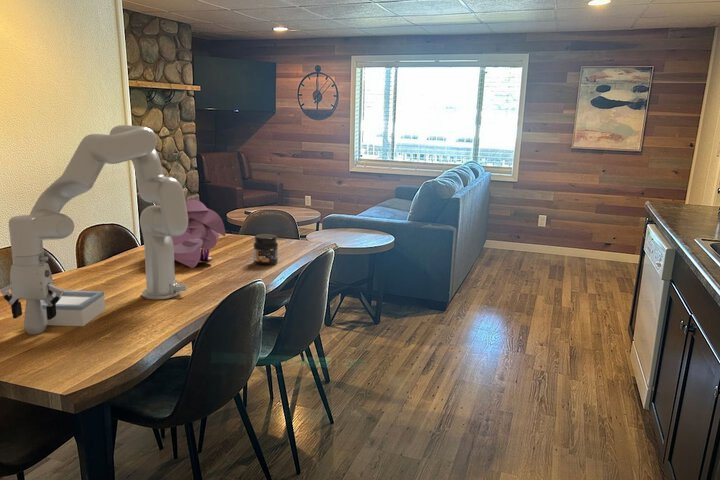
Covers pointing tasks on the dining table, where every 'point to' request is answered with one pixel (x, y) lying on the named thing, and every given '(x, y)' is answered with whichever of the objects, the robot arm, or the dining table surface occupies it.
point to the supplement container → (265, 249)
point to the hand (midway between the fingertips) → (34, 317)
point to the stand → (76, 308)
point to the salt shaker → (34, 317)
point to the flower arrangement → (198, 234)
